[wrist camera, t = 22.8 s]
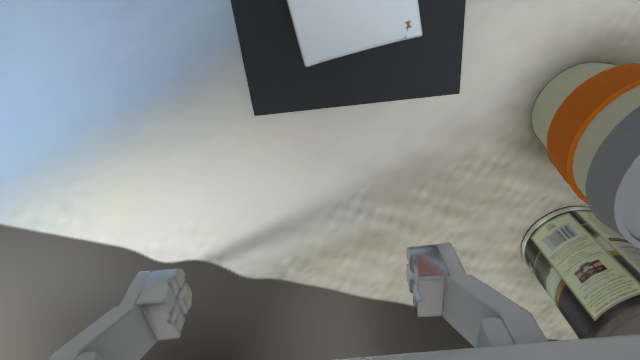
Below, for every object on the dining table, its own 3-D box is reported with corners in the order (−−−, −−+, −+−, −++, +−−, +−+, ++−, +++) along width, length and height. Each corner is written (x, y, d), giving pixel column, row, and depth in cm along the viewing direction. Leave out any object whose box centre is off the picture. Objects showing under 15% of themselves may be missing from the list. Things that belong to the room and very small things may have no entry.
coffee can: (574, 280, 50) (658, 385, 37) (504, 261, 48) (567, 364, 36) (629, 218, 45) (745, 315, 33) (553, 195, 43) (645, 287, 31)
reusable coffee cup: (559, 184, 43) (665, 283, 30) (487, 116, 39) (572, 194, 26) (670, 99, 38) (855, 171, 25) (601, 11, 34) (777, 42, 21)
